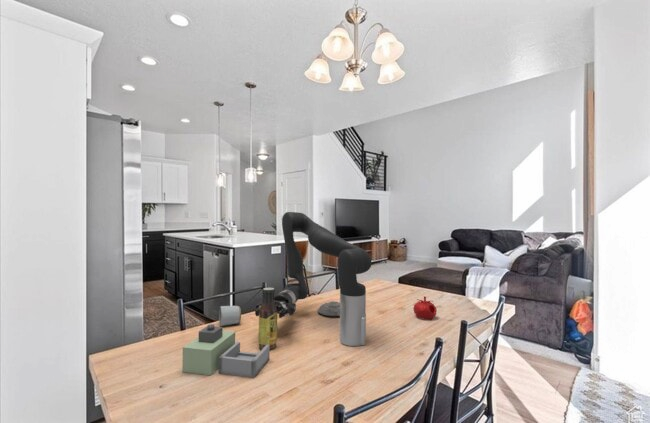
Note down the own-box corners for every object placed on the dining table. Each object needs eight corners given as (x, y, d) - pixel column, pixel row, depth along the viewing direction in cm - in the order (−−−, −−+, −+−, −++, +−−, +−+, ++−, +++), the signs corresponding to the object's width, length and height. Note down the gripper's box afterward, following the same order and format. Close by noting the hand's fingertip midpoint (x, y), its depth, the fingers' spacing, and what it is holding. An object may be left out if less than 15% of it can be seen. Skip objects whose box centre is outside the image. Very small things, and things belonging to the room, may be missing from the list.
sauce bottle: (272, 351, 100) (273, 291, 101) (255, 350, 102) (255, 290, 102) (279, 343, 107) (280, 287, 107) (263, 342, 108) (263, 286, 108)
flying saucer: (350, 309, 148) (350, 297, 148) (349, 319, 133) (349, 307, 133) (319, 308, 149) (319, 296, 150) (315, 318, 135) (315, 305, 135)
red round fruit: (412, 320, 133) (412, 298, 133) (414, 312, 143) (414, 293, 143) (436, 322, 130) (435, 300, 130) (437, 315, 139) (436, 294, 139)
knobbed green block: (271, 357, 97) (271, 321, 97) (252, 380, 83) (252, 339, 83) (210, 350, 101) (210, 316, 101) (182, 371, 87) (183, 332, 87)
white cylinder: (241, 325, 124) (242, 306, 124) (220, 328, 120) (221, 309, 121) (236, 318, 133) (237, 300, 134) (217, 320, 130) (217, 302, 130)
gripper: (267, 290, 122) (249, 301, 106) (301, 292, 119) (288, 304, 103) (267, 309, 122) (248, 323, 106) (301, 312, 119) (287, 326, 103)
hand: (268, 314), depth 105 cm, fingers open, 8 cm apart
